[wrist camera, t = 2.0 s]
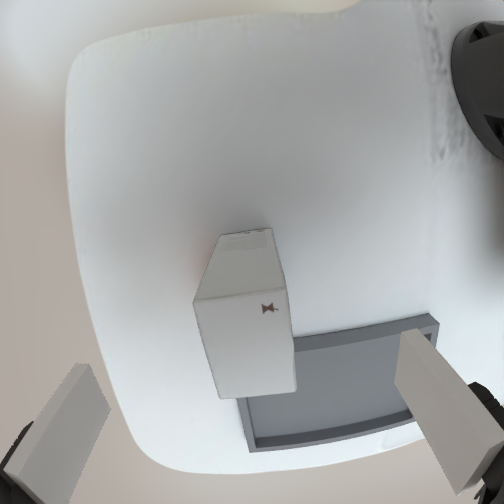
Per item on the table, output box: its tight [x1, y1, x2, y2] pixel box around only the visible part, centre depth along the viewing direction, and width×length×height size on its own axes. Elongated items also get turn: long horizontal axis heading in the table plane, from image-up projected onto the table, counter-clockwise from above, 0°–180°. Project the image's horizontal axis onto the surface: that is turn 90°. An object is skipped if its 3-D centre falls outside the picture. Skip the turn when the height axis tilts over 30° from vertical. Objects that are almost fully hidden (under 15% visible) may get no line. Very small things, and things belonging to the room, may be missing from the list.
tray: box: [237, 314, 440, 453], centre depth 28 cm, size 20×14×2 cm
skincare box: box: [193, 228, 297, 399], centre depth 19 cm, size 6×4×12 cm
